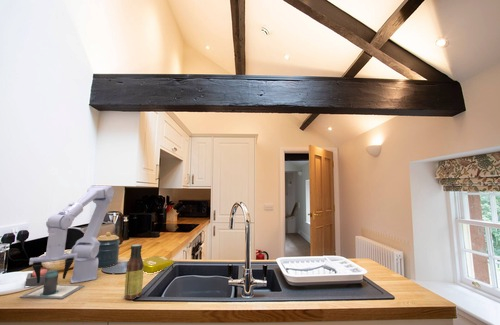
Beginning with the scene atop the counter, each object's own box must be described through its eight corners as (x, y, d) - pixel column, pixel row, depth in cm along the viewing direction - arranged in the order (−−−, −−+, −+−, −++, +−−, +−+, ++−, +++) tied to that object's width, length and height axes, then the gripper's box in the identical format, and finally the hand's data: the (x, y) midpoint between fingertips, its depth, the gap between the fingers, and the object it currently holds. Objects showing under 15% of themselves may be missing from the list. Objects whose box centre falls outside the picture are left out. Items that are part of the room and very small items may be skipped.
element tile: (174, 268, 127) (175, 259, 127) (149, 276, 114) (150, 266, 115) (157, 263, 135) (158, 254, 135) (133, 269, 122) (134, 260, 123)
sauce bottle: (144, 295, 92) (149, 244, 95) (132, 301, 87) (137, 247, 89) (132, 292, 95) (137, 242, 97) (119, 298, 89) (125, 245, 91)
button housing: (50, 278, 106) (51, 270, 106) (50, 283, 100) (51, 275, 100) (26, 281, 101) (27, 273, 101) (24, 287, 95) (26, 279, 95)
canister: (113, 267, 123) (116, 233, 125) (86, 268, 120) (90, 233, 122) (121, 260, 135) (124, 230, 138) (96, 261, 133) (100, 229, 135)
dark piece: (55, 290, 93) (58, 269, 94) (56, 293, 90) (59, 272, 91) (42, 292, 90) (45, 271, 91) (42, 296, 87) (45, 274, 88)
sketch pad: (19, 297, 86) (20, 296, 86) (47, 285, 98) (47, 283, 98) (62, 299, 86) (62, 297, 86) (84, 286, 98) (84, 285, 98)
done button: (46, 275, 104) (47, 268, 104) (46, 278, 100) (47, 271, 101) (31, 277, 101) (33, 270, 101) (31, 280, 97) (32, 273, 98)
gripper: (31, 249, 85) (25, 287, 83) (79, 244, 94) (75, 279, 92) (32, 245, 90) (26, 281, 88) (78, 241, 99) (73, 274, 98)
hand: (51, 280), depth 91 cm, fingers open, 7 cm apart
